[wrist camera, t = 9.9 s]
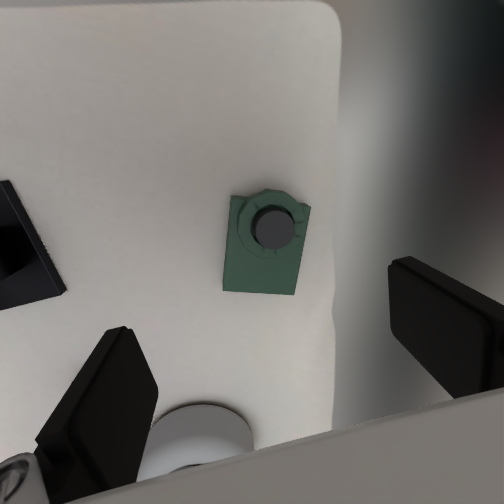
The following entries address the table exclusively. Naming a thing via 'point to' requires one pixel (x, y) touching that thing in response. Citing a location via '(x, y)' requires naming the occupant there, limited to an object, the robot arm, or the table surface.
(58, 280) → the bracket
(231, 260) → the button box
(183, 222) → the table surface
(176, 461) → the thick torus
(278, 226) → the button
